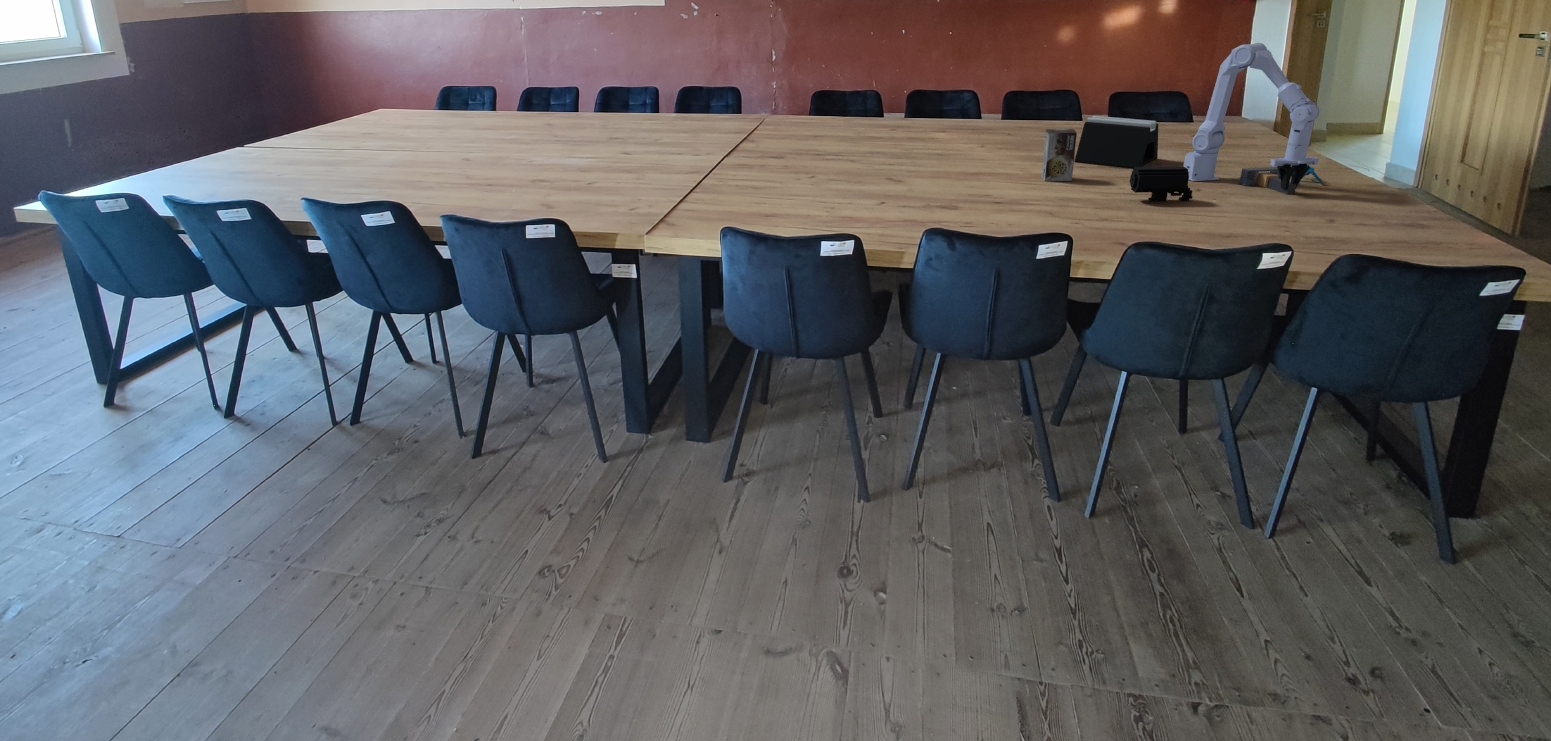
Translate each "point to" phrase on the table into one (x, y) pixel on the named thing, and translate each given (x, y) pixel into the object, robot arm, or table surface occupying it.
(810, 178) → the table surface
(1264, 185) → the plug
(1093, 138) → the device stand
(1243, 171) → the housing
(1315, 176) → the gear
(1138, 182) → the security camera
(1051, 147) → the coffee box
